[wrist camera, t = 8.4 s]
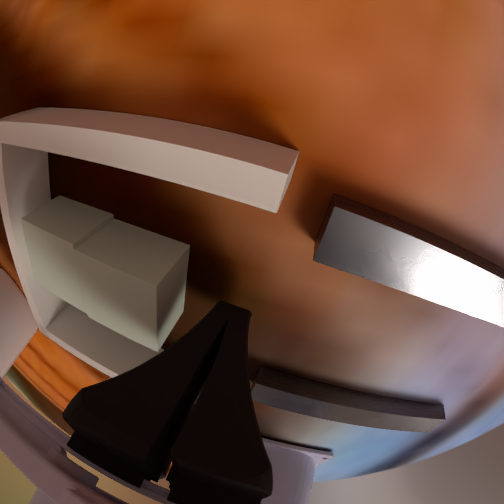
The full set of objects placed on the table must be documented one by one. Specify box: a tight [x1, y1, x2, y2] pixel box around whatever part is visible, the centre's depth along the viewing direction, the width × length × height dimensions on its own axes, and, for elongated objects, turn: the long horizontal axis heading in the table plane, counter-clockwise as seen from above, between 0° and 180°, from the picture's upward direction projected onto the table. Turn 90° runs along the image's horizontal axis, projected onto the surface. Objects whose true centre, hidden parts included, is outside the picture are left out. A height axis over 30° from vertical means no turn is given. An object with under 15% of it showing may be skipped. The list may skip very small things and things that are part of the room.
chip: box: [21, 195, 114, 314], centre depth 12 cm, size 4×4×3 cm
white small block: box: [74, 219, 190, 352], centre depth 12 cm, size 4×4×3 cm
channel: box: [251, 194, 504, 432], centre depth 11 cm, size 12×13×1 cm
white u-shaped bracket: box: [0, 107, 299, 401], centre depth 12 cm, size 14×13×3 cm
